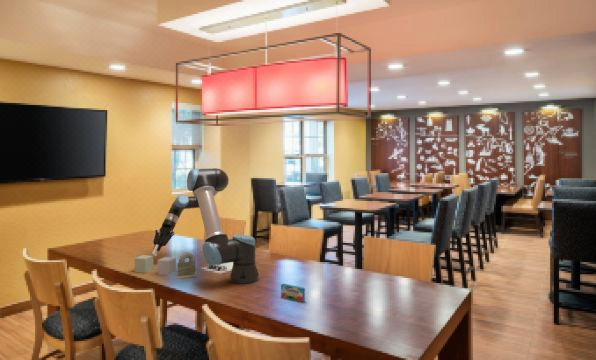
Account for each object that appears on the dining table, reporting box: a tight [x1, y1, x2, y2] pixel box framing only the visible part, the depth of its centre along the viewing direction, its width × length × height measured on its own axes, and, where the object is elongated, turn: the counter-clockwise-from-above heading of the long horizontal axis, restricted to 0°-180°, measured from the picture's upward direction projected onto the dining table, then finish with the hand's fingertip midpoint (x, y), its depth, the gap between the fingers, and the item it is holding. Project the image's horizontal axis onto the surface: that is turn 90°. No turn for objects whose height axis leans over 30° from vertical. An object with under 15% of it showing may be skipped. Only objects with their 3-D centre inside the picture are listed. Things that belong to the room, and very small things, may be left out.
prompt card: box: [176, 260, 198, 280], centre depth 220 cm, size 4×10×8 cm, turn 109°
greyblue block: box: [157, 256, 177, 276], centre depth 227 cm, size 7×7×8 cm
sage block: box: [134, 254, 155, 274], centre depth 231 cm, size 7×7×8 cm
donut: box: [178, 251, 196, 263], centre depth 234 cm, size 10×4×10 cm, turn 134°
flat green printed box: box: [280, 283, 306, 303], centre depth 186 cm, size 12×2×6 cm, turn 57°
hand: (153, 255), depth 240 cm, fingers closed
